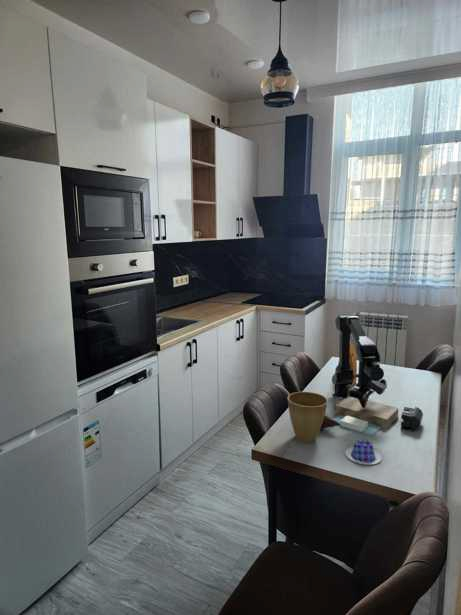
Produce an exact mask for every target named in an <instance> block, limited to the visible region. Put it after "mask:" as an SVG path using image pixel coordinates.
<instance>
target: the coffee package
mask: <svg viewBox="0 0 461 615" xmlns="http://www.w3.org/2000/svg"><path fill="white" fill-rule="evenodd" d="M357 360H358V359H357V351H356V347H355V346H354V345H353V343H352V341H351V340H350V362H349V365H350V367H351V368H352V369H353V374H354V379H353V383H352V385H351V384H349V387H353V386H354V385H355V384H357V381H358V377H356V375H357V374H358V362H357ZM338 364H339V362H338ZM338 364H337V365H338Z"/></svg>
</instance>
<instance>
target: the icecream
mask: <svg viewBox="0 0 461 615" xmlns="http://www.w3.org/2000/svg"><path fill="white" fill-rule="evenodd" d="M338 425H340V423H338V422H336V421H334V420H333V419H332V418H330V417H328V416H327V415H325V416H324V419H323V422H322V425H321V428H320V431H324V429H327V428H332V427H338Z"/></svg>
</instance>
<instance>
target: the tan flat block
mask: <svg viewBox="0 0 461 615" xmlns="http://www.w3.org/2000/svg"><path fill="white" fill-rule="evenodd" d="M335 415H337V416H338V415H342V416H350V417H353V418H357V419H360V420H364V421H367V422H368V423H370V424H373V425H377V426H380V427H381V428H383V429H388V428H389V427H390V426H391V425H392V423H394V422H395V421H396V420H397V419H398V418H399V407H396V406H391V405H388V404H385V403H379V402H376V401H372V400H369V399H368V401H367V404H366V407H365V408H362V406H361V404H360V402H359V400H358V399H357V398H353V397H349V396H348V397H347V398H345V399H344V398H343V399H342V400H341V401H340V402H338V403H337V404H335Z"/></svg>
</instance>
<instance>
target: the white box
mask: <svg viewBox="0 0 461 615" xmlns="http://www.w3.org/2000/svg"><path fill="white" fill-rule="evenodd" d="M340 425H341V426H345V427H348V428H351V429H355V430H358V431H361V432H362V431H363V430H364V429H365V428H366V427H367V426H368V422H367V421H364V420H360V419H357V418H353V417H350V416H345V417H344V418H343V419H342V420H340ZM341 426H340V427H341ZM351 429H350V430H351Z"/></svg>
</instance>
